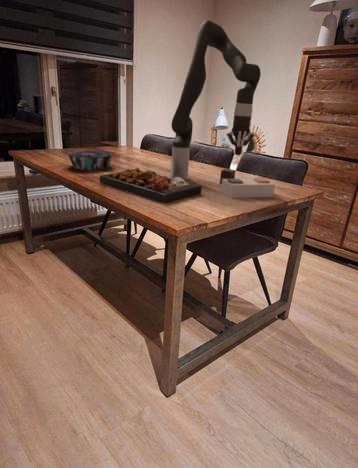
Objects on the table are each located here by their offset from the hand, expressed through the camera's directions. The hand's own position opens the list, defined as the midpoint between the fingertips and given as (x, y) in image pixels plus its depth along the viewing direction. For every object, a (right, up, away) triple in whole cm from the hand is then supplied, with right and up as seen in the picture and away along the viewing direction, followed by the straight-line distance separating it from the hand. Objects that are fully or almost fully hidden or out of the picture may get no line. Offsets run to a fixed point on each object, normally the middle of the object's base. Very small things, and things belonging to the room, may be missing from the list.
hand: (237, 154), depth 149 cm
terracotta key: (+13, -14, +10) cm, 21 cm away
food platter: (-42, -15, +10) cm, 45 cm away
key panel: (+6, -17, +9) cm, 20 cm away
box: (-1, -9, +26) cm, 28 cm away
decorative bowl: (-80, +4, +48) cm, 93 cm away
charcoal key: (-1, -14, +6) cm, 16 cm away
